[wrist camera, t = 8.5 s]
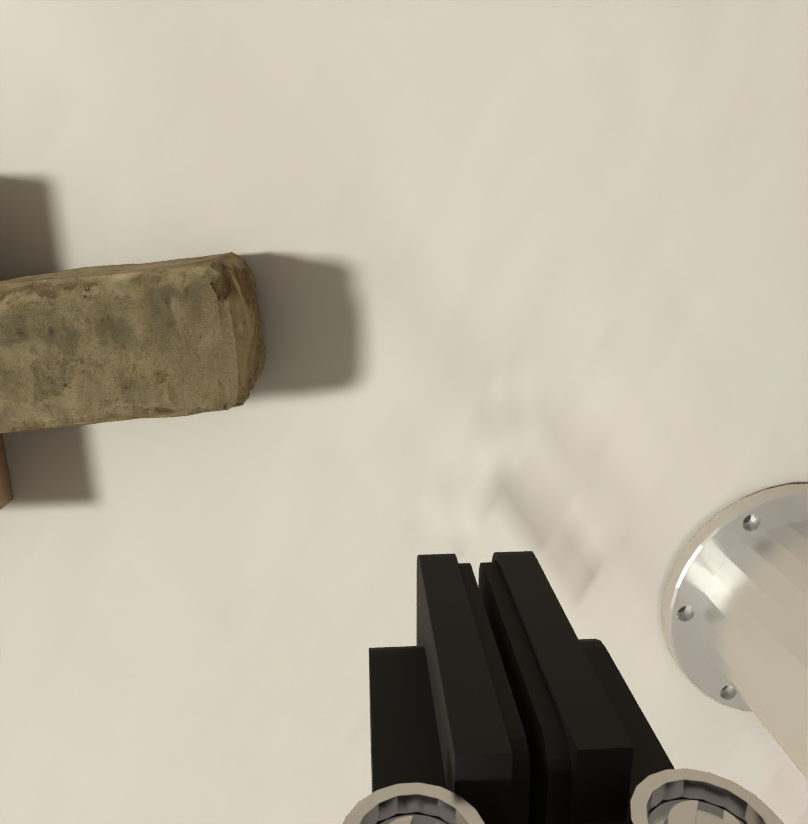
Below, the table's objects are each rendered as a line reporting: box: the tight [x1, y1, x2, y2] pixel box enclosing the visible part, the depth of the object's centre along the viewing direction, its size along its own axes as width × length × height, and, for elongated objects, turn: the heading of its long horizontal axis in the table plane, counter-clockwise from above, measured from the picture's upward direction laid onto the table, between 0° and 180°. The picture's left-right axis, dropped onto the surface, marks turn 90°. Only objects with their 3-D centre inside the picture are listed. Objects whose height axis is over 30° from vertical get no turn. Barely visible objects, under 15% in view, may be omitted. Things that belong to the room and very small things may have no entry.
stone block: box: [0, 252, 266, 433], centre depth 28 cm, size 6×12×5 cm, turn 96°
